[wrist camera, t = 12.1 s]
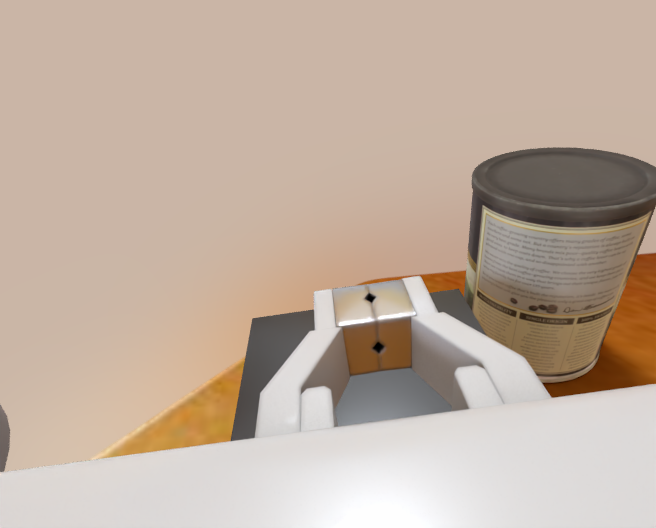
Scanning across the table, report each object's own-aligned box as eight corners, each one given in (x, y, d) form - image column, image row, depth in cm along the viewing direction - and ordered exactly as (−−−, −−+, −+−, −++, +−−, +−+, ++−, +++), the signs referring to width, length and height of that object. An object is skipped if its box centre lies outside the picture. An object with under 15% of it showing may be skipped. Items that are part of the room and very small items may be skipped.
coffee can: (440, 308, 34) (446, 163, 27) (541, 286, 35) (576, 138, 27) (501, 399, 26) (536, 223, 18) (635, 367, 26) (722, 184, 19)
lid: (255, 327, 23) (252, 318, 22) (458, 298, 22) (458, 288, 22) (199, 672, 10) (189, 665, 10) (642, 620, 10) (652, 611, 10)
